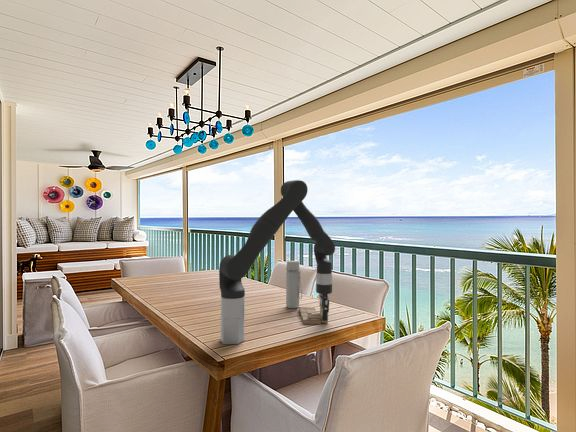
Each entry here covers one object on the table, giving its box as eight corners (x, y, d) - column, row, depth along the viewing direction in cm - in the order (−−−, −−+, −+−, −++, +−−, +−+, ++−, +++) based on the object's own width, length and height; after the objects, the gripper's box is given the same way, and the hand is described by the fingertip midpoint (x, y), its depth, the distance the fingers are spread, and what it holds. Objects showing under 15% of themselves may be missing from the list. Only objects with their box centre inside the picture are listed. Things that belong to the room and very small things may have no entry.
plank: (320, 324, 149) (320, 319, 149) (303, 324, 149) (303, 319, 149) (314, 310, 171) (314, 306, 171) (298, 310, 171) (299, 306, 171)
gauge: (328, 322, 150) (328, 309, 150) (308, 322, 150) (308, 309, 150) (326, 319, 155) (326, 306, 155) (307, 319, 155) (307, 306, 155)
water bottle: (283, 307, 176) (283, 261, 177) (290, 304, 183) (290, 260, 184) (298, 310, 172) (298, 262, 172) (304, 306, 179) (305, 261, 179)
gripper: (335, 285, 146) (334, 323, 146) (329, 279, 160) (329, 314, 160) (318, 285, 146) (318, 323, 145) (314, 279, 160) (313, 314, 160)
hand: (323, 318), depth 153 cm, fingers closed on gauge, 5 cm apart
